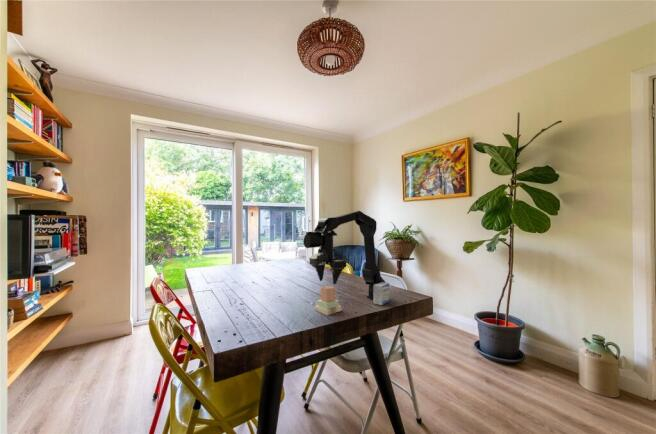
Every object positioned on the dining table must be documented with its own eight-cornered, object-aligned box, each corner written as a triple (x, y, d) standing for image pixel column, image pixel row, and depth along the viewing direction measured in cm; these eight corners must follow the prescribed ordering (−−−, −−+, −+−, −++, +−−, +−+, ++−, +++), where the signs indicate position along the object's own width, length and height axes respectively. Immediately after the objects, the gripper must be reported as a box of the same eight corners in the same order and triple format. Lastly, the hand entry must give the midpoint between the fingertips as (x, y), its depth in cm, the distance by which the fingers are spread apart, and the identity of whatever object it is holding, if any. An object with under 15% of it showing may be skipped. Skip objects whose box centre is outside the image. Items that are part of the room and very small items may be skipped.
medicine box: (381, 305, 116) (382, 286, 116) (373, 303, 119) (373, 284, 119) (389, 301, 122) (389, 283, 122) (381, 299, 125) (381, 281, 125)
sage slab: (329, 302, 117) (328, 297, 117) (338, 306, 112) (338, 300, 112) (317, 306, 112) (317, 300, 112) (327, 309, 107) (327, 303, 107)
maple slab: (329, 307, 117) (329, 302, 117) (341, 312, 111) (341, 306, 111) (315, 311, 112) (315, 306, 112) (327, 316, 106) (327, 310, 106)
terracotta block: (329, 298, 115) (328, 285, 115) (335, 300, 111) (334, 287, 112) (320, 300, 112) (320, 287, 113) (326, 302, 109) (326, 289, 109)
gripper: (299, 246, 115) (300, 282, 114) (326, 249, 100) (327, 289, 100) (319, 245, 122) (319, 278, 121) (346, 247, 107) (347, 284, 107)
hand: (327, 282), depth 112 cm, fingers open, 9 cm apart
